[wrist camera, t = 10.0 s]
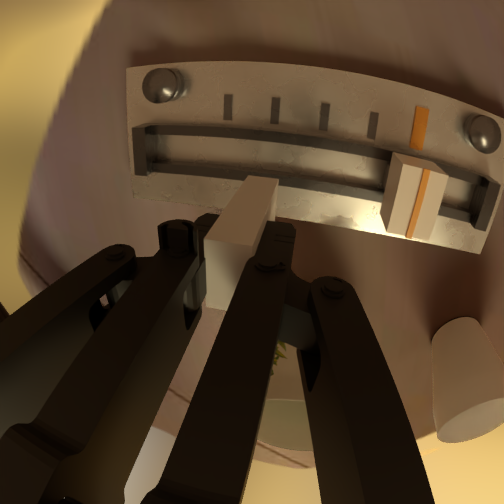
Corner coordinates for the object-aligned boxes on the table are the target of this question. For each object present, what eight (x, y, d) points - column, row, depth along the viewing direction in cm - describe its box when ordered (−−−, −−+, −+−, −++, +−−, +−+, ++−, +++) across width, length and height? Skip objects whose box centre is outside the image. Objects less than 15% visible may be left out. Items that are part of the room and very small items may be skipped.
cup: (455, 297, 27) (487, 390, 17) (500, 320, 27) (531, 401, 17) (407, 350, 32) (417, 440, 22) (455, 366, 32) (470, 445, 22)
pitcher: (232, 345, 37) (197, 440, 26) (313, 238, 27) (296, 361, 16) (306, 379, 38) (290, 473, 27) (403, 293, 28) (424, 413, 17)
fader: (375, 200, 22) (386, 234, 17) (386, 144, 19) (403, 163, 15) (410, 208, 21) (429, 242, 17) (423, 153, 19) (449, 175, 15)
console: (144, 189, 28) (121, 206, 25) (139, 67, 22) (112, 68, 19) (472, 243, 23) (487, 266, 20) (506, 121, 17) (531, 130, 14)
